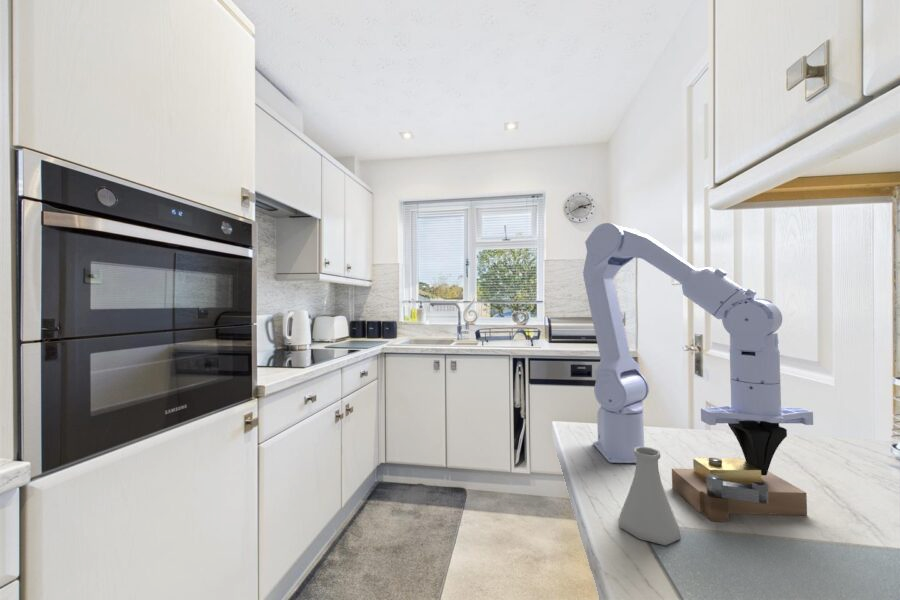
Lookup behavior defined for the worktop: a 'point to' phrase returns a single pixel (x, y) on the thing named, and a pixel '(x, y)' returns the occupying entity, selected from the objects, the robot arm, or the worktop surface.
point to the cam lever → (737, 490)
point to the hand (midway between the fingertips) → (757, 472)
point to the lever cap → (727, 469)
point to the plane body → (780, 499)
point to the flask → (648, 502)
